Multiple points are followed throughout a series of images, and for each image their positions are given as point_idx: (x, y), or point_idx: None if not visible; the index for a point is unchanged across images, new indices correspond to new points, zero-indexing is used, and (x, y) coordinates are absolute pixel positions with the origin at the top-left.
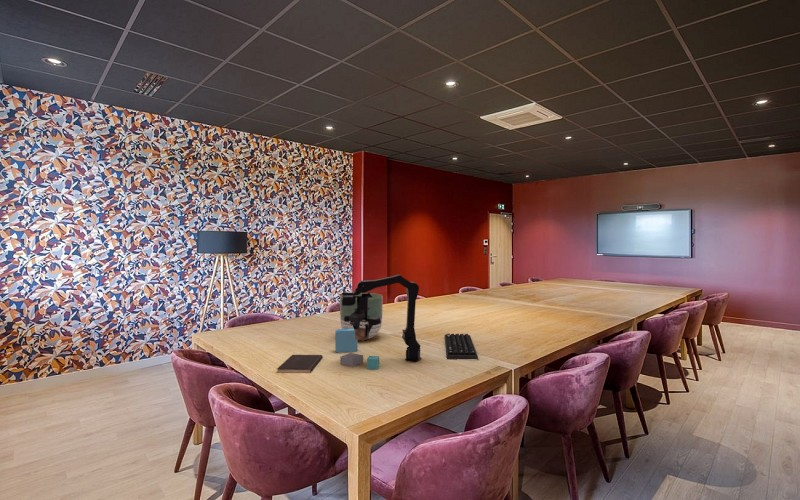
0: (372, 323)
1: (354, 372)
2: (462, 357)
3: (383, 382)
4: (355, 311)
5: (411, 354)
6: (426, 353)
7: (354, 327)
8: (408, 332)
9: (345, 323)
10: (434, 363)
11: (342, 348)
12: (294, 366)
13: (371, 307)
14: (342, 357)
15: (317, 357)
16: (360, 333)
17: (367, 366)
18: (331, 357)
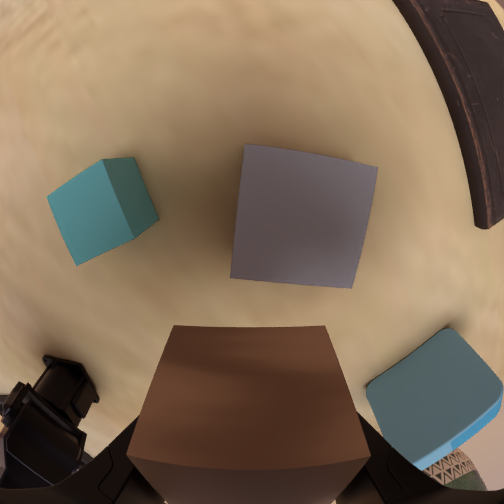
0: None
1: (169, 67)
2: (6, 398)
3: (8, 72)
4: None
5: (48, 378)
6: (98, 434)
7: (403, 480)
8: (2, 446)
9: (459, 468)
10: (10, 354)
11: (432, 355)
12: (473, 23)
13: None
14: (355, 162)
15: (488, 177)
16: (219, 407)
17: (124, 158)
18: (447, 255)
